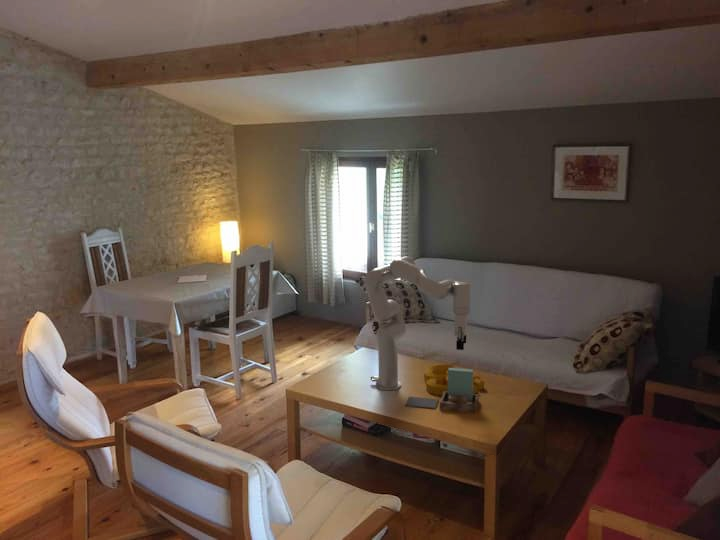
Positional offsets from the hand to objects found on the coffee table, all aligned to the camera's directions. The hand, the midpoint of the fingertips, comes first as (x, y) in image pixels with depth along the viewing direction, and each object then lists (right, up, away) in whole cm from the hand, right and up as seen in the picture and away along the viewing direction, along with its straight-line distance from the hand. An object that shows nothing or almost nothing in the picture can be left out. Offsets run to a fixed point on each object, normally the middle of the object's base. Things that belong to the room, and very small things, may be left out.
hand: (461, 346), depth 277 cm
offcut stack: (-1, -28, 0) cm, 28 cm away
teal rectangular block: (0, -27, +5) cm, 27 cm away
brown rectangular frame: (-1, -27, +2) cm, 27 cm away
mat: (-17, -27, +5) cm, 33 cm away
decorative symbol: (+1, -23, +28) cm, 36 cm away
